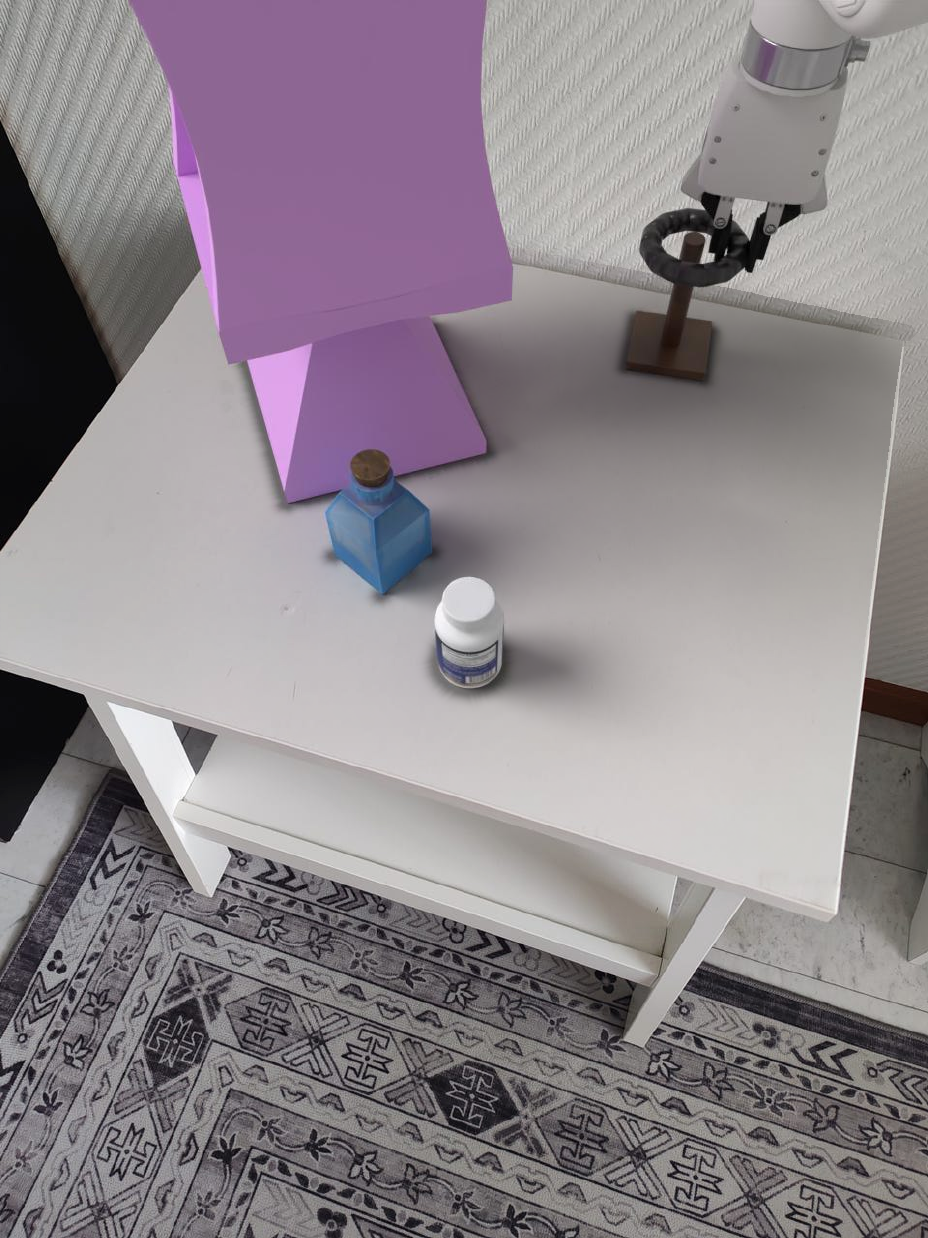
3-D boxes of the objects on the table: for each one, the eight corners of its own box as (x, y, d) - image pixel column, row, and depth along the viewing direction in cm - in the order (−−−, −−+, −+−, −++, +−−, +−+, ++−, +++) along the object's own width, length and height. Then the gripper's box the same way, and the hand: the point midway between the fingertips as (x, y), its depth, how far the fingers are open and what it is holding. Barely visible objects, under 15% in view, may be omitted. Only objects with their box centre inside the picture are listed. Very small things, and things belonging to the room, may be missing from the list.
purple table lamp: (232, 357, 93) (61, -210, 54) (436, 311, 96) (410, -253, 58) (275, 518, 82) (99, -53, 43) (504, 459, 85) (530, -117, 47)
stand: (710, 328, 94) (741, 217, 83) (703, 380, 90) (735, 271, 79) (635, 317, 95) (656, 206, 84) (625, 368, 91) (646, 259, 80)
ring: (749, 230, 85) (755, 211, 83) (742, 297, 80) (748, 279, 78) (645, 217, 86) (649, 198, 85) (632, 283, 81) (635, 264, 80)
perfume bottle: (432, 552, 79) (426, 462, 69) (382, 594, 77) (368, 508, 67) (384, 514, 82) (371, 422, 71) (334, 555, 79) (314, 465, 69)
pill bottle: (452, 625, 75) (449, 558, 67) (511, 645, 74) (516, 581, 66) (427, 677, 73) (420, 615, 64) (487, 699, 72) (489, 639, 63)
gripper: (902, 37, 68) (822, 247, 84) (692, 15, 70) (652, 225, 86) (905, 89, 64) (820, 299, 80) (683, 64, 66) (642, 274, 82)
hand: (733, 259), depth 83 cm, fingers closed on ring, 2 cm apart
